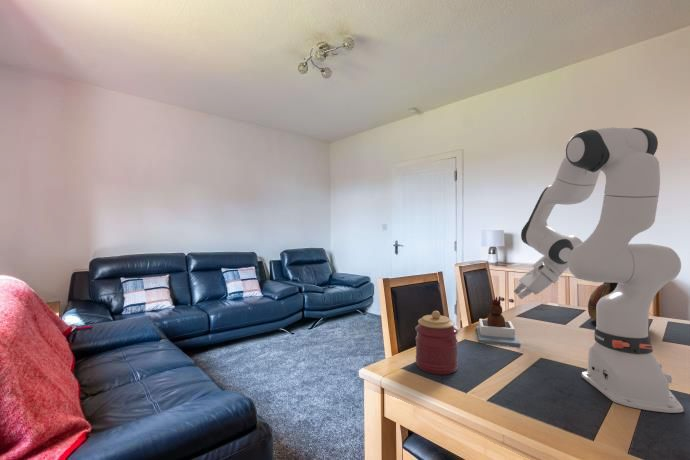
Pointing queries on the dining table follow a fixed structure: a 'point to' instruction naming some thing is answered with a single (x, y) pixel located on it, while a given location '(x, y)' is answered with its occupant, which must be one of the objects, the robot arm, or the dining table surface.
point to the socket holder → (497, 334)
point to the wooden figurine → (496, 314)
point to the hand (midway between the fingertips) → (517, 295)
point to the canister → (436, 344)
